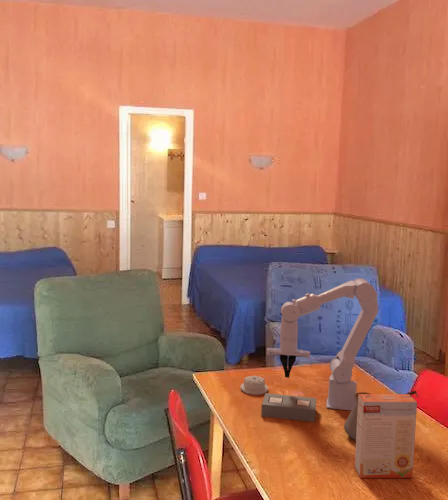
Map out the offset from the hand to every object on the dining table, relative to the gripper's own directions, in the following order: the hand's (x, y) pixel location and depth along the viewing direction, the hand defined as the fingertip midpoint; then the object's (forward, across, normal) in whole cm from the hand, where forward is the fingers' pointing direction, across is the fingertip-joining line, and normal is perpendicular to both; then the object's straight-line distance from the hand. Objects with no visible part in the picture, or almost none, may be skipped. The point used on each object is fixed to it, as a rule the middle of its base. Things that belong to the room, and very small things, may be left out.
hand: (287, 376), depth 194 cm
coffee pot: (+10, -29, +20) cm, 37 cm away
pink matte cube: (+9, -6, +8) cm, 14 cm away
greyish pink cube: (+9, +3, +8) cm, 13 cm away
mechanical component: (+10, +12, -9) cm, 18 cm away
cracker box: (+10, -28, +41) cm, 51 cm away
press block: (+9, -2, +8) cm, 13 cm away
